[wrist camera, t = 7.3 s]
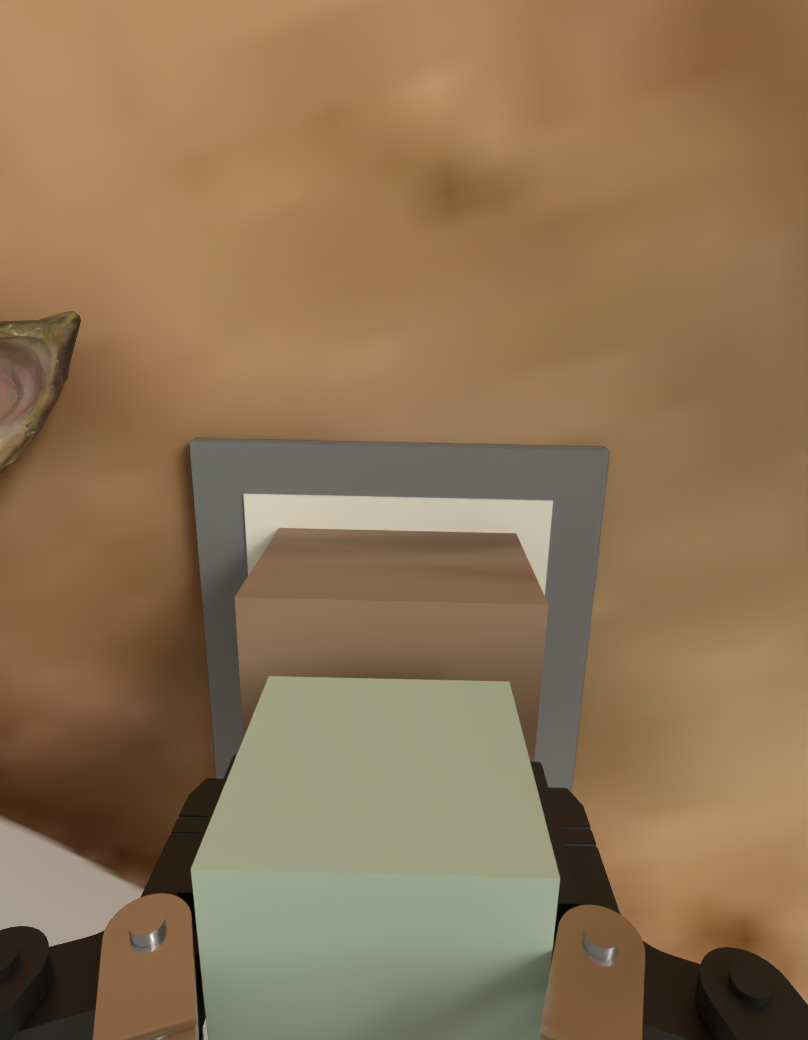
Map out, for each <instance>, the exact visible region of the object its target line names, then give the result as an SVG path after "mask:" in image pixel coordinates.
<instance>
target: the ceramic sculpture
mask: <svg viewBox="0 0 808 1040" xmlns="http://www.w3.org/2000/svg"><path fill="white" fill-rule="evenodd" d="M80 322H81V319H80V315H78V314H77V313H75V312H73V311H70V312H65V313H60V314H57V315H54V316H50V317H47V318H44V319H40V320H32V321H0V473H1V472H2V471H3V470H4V469H6V468H7V467H8V466H9V465H10V464H11V463H13V462H15V461H16V459H17V458H18V457H19V456H20V454H21V453H22V452H23V450H24V449H25V448H26V447H27V446H28V444H29V443H30V442H31V441H32V440H33V439H34V437H35V436H36V435H37V433H38V432H39V431H40V429H41V428H42V426H43V424H44V422H45V420H46V418H47V416H48V415H49V413H50V411H51V409H52V408H53V406H54V404H55V403H56V401H57V400H58V397H59V395H60V392H61V390H62V387H63V385H64V382H65V381H66V379H67V377H68V372H69V366H70V360H71V357H72V353H73V349H74V346H75V342H76V338H77V334H78V330H79V326H80Z"/></svg>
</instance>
